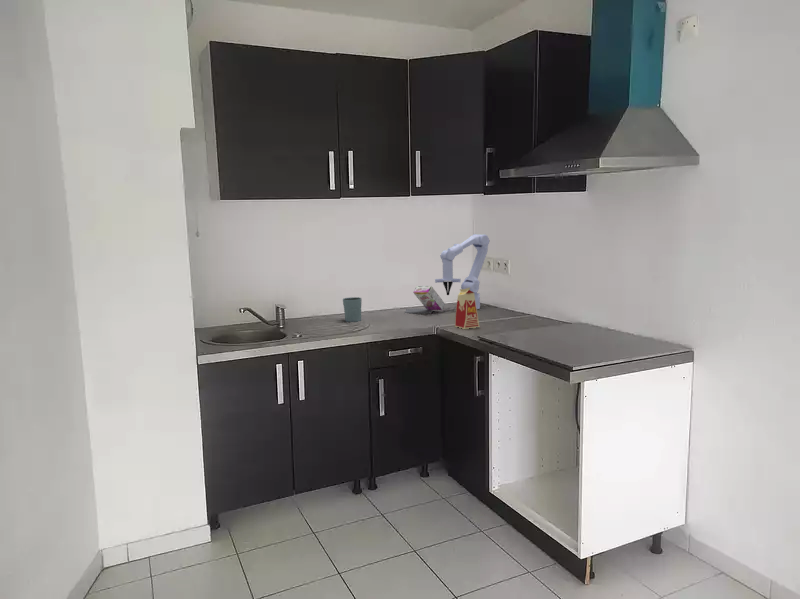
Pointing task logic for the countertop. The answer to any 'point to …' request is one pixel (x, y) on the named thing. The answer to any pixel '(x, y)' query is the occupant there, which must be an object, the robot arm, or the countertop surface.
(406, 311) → the mat
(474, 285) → the robot arm
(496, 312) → the countertop surface
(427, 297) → the candy bar box
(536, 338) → the countertop surface
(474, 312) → the milk carton
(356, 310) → the teal cup
